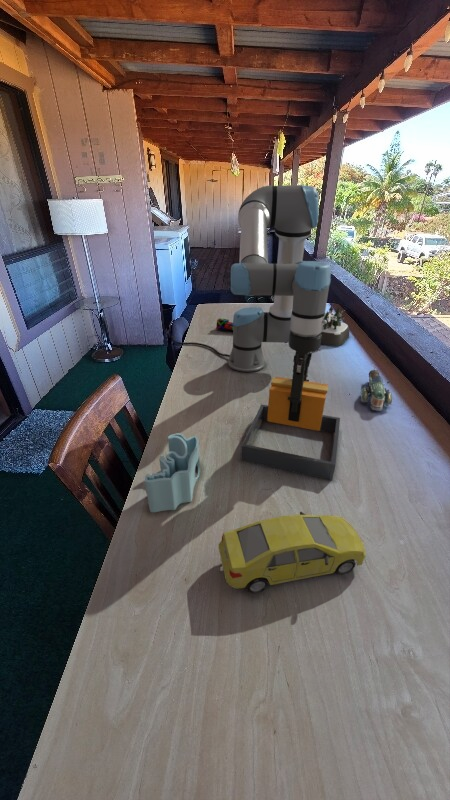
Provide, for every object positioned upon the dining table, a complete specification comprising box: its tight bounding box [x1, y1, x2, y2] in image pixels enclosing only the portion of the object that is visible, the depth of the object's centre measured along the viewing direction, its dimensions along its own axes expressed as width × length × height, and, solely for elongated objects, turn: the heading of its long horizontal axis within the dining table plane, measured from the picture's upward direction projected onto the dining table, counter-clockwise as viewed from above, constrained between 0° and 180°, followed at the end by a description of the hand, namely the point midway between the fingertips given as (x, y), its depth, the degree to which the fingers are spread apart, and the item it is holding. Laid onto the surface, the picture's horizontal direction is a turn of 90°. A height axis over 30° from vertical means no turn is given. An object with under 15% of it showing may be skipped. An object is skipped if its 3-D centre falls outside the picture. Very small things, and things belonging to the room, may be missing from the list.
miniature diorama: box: [320, 305, 351, 347], centre depth 169 cm, size 20×20×17 cm
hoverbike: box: [360, 366, 393, 413], centre depth 123 cm, size 10×25×8 cm, turn 163°
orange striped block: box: [266, 376, 329, 432], centre depth 93 cm, size 14×8×11 cm, turn 71°
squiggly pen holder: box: [144, 432, 201, 513], centre depth 85 cm, size 18×10×9 cm, turn 175°
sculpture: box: [215, 317, 233, 331], centre depth 180 cm, size 9×5×30 cm
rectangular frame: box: [240, 404, 341, 481], centre depth 99 cm, size 24×22×5 cm
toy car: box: [218, 511, 367, 594], centre depth 66 cm, size 12×28×10 cm, turn 102°
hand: (295, 411), depth 95 cm, fingers closed on orange striped block, 7 cm apart
